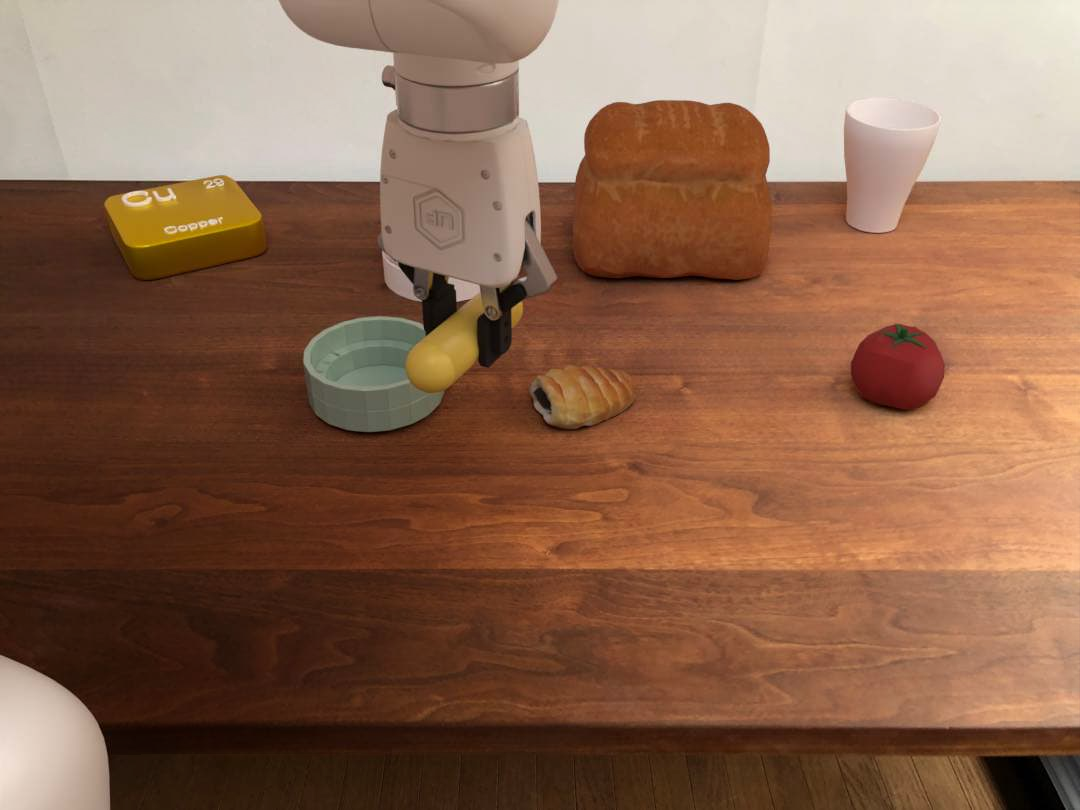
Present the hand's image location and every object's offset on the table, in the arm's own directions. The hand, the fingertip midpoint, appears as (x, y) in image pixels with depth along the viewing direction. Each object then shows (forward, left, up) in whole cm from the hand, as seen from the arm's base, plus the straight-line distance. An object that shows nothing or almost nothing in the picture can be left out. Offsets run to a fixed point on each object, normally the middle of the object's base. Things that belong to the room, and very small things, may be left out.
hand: (467, 347), depth 75 cm
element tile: (+26, +53, -15) cm, 60 cm away
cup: (+68, -16, -15) cm, 71 cm away
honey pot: (+33, +23, -15) cm, 43 cm away
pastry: (+17, -1, -15) cm, 23 cm away
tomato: (+32, -26, -15) cm, 44 cm away
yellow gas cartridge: (0, 0, -1) cm, 1 cm away
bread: (+49, +3, -15) cm, 51 cm away
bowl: (+10, +16, -15) cm, 24 cm away
